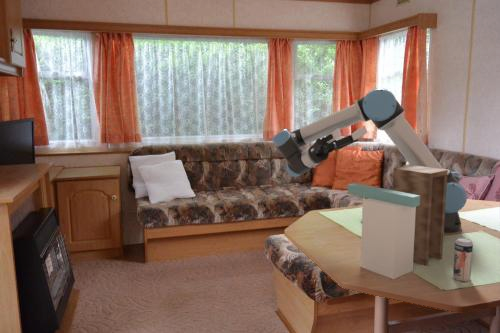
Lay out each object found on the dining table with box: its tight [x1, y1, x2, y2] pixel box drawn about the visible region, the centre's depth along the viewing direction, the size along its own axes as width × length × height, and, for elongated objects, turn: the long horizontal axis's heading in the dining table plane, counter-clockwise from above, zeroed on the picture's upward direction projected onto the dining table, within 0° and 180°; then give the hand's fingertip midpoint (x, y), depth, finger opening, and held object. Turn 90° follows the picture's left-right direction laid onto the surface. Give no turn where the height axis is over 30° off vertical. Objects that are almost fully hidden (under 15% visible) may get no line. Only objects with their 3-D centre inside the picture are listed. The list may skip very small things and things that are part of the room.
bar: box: [347, 182, 420, 208], centre depth 136 cm, size 24×4×3 cm, turn 37°
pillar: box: [360, 198, 416, 280], centre depth 136 cm, size 12×10×22 cm
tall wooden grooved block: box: [392, 165, 449, 267], centre depth 144 cm, size 13×10×30 cm
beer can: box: [452, 237, 474, 282], centre depth 128 cm, size 5×5×12 cm
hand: (353, 130), depth 154 cm, fingers open, 13 cm apart
